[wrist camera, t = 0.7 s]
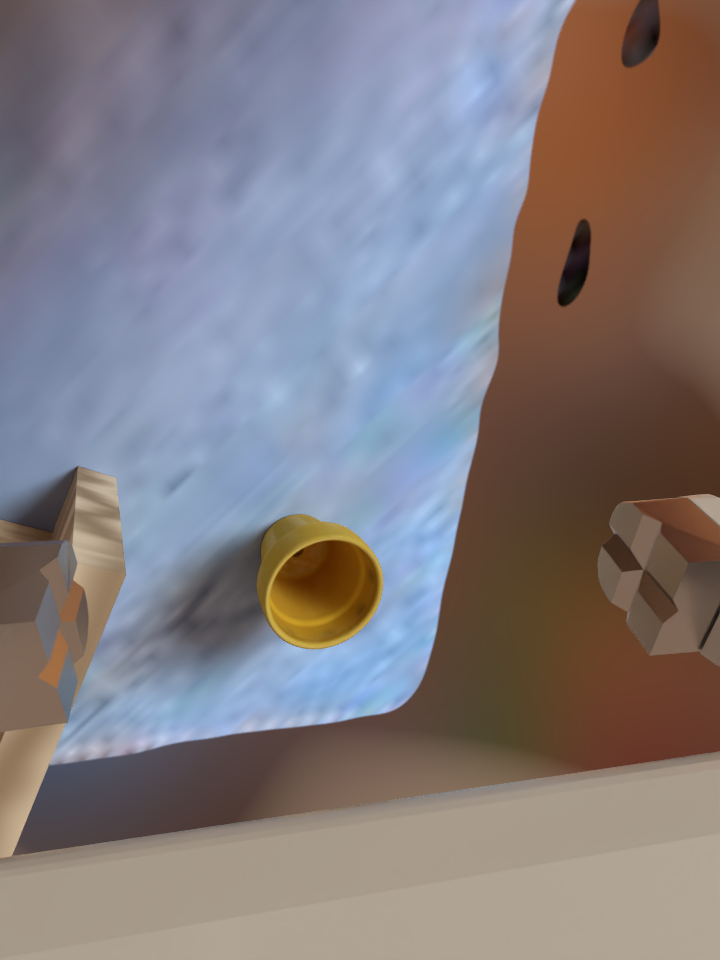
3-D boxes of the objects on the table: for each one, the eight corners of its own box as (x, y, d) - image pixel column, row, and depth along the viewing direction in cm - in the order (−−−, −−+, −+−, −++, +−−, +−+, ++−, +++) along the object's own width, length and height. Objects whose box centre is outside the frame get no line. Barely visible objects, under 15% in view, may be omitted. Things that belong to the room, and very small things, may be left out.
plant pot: (217, 568, 58) (238, 622, 49) (280, 475, 57) (313, 514, 49) (305, 611, 63) (338, 667, 54) (364, 525, 62) (407, 569, 54)
